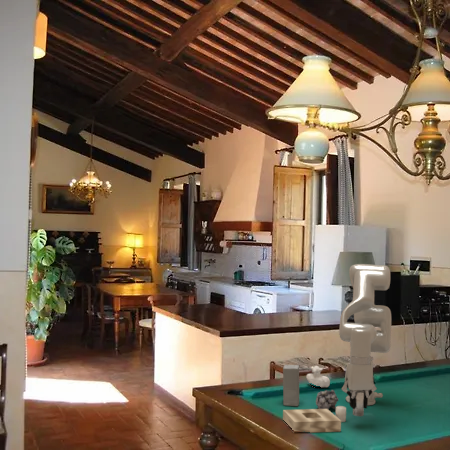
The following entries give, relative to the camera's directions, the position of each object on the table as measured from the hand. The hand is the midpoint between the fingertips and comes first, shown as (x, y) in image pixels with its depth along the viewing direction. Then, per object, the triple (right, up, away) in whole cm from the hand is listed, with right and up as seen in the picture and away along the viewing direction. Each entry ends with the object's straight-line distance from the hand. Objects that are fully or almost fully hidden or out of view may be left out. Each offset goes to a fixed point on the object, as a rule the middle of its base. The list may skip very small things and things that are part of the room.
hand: (358, 407), depth 222 cm
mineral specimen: (-9, -7, +18) cm, 21 cm away
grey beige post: (0, -3, 0) cm, 3 cm away
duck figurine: (-7, -7, +53) cm, 54 cm away
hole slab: (-19, -6, -3) cm, 20 cm away
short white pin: (-6, -7, +5) cm, 10 cm away
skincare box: (-23, -6, +25) cm, 35 cm away
